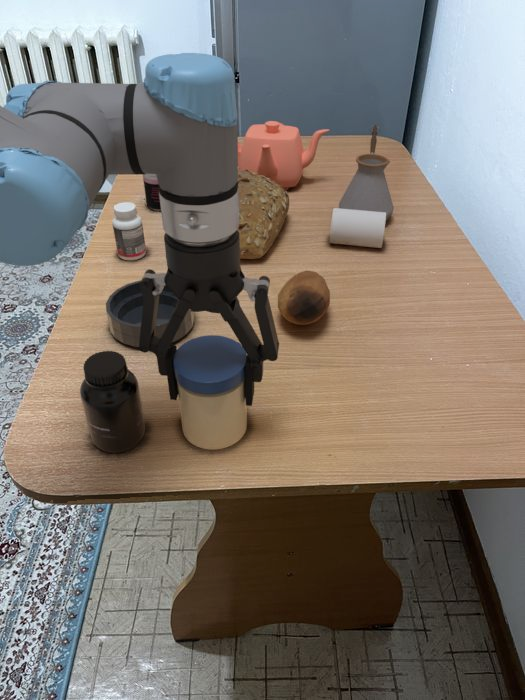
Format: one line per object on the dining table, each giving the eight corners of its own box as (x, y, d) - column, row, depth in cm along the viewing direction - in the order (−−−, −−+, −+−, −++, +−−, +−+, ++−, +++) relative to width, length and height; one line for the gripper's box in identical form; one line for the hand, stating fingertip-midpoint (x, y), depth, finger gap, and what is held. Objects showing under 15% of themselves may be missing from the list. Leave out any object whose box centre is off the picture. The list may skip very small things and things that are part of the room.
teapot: (325, 185, 134) (330, 125, 126) (264, 204, 126) (264, 141, 117) (278, 162, 146) (280, 105, 137) (219, 178, 137) (216, 119, 128)
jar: (176, 447, 71) (168, 385, 64) (188, 400, 77) (182, 340, 71) (243, 451, 70) (242, 390, 64) (249, 404, 77) (249, 343, 70)
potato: (297, 314, 98) (338, 292, 96) (294, 347, 86) (340, 323, 84) (275, 279, 96) (315, 255, 94) (267, 308, 84) (314, 281, 82)
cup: (381, 238, 114) (332, 233, 115) (386, 206, 110) (335, 202, 111) (380, 254, 109) (328, 249, 110) (385, 222, 104) (331, 217, 106)
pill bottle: (115, 250, 109) (107, 202, 103) (142, 245, 111) (136, 198, 105) (121, 263, 105) (112, 215, 99) (149, 258, 107) (142, 210, 101)
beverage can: (179, 199, 127) (173, 131, 118) (173, 212, 122) (166, 142, 113) (151, 198, 128) (142, 130, 118) (143, 210, 123) (134, 141, 113)
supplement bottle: (90, 458, 69) (70, 386, 62) (92, 418, 74) (74, 348, 67) (147, 450, 70) (134, 378, 63) (145, 411, 75) (133, 341, 68)
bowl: (100, 348, 86) (94, 324, 83) (123, 299, 96) (119, 277, 93) (186, 352, 85) (183, 329, 82) (200, 303, 95) (198, 280, 93)
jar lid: (175, 348, 71) (173, 336, 70) (244, 344, 71) (244, 332, 70) (173, 397, 64) (171, 384, 63) (250, 392, 65) (249, 380, 63)
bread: (202, 202, 126) (198, 149, 119) (295, 214, 122) (298, 159, 114) (159, 255, 108) (152, 196, 100) (267, 271, 104) (268, 210, 96)
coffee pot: (391, 233, 115) (403, 161, 106) (335, 228, 117) (342, 156, 107) (392, 191, 132) (402, 125, 122) (342, 187, 133) (349, 122, 124)
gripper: (83, 242, 54) (119, 410, 68) (308, 254, 52) (297, 423, 67) (108, 208, 60) (136, 369, 74) (310, 218, 58) (300, 381, 72)
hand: (212, 395), depth 70 cm, fingers closed on jar lid, 9 cm apart
